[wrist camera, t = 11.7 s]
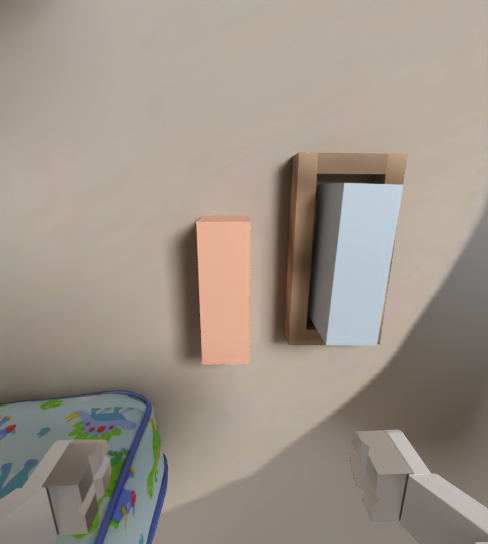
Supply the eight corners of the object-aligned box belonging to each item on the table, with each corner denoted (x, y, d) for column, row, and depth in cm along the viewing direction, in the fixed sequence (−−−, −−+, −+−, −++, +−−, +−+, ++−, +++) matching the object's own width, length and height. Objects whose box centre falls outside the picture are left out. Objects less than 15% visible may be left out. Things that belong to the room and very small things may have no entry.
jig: (292, 156, 25) (299, 152, 23) (390, 157, 26) (407, 154, 23) (284, 331, 30) (288, 344, 27) (367, 331, 30) (379, 344, 28)
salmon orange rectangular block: (203, 215, 27) (196, 221, 22) (247, 215, 27) (250, 221, 22) (207, 336, 30) (202, 364, 25) (247, 335, 30) (249, 363, 25)
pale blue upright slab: (319, 184, 26) (344, 182, 20) (365, 185, 26) (403, 184, 20) (307, 313, 29) (326, 345, 23) (348, 314, 29) (376, 345, 23)
